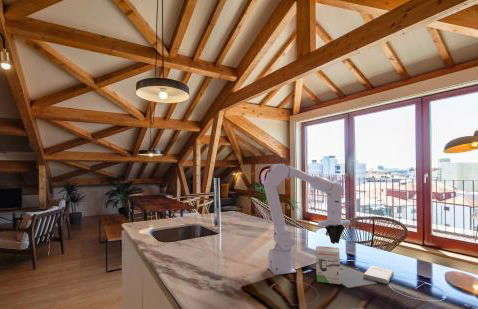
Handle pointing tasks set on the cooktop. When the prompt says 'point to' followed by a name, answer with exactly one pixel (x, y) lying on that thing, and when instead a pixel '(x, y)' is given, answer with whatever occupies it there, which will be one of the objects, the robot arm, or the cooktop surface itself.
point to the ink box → (328, 265)
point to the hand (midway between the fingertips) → (334, 243)
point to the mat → (354, 279)
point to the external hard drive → (378, 274)
